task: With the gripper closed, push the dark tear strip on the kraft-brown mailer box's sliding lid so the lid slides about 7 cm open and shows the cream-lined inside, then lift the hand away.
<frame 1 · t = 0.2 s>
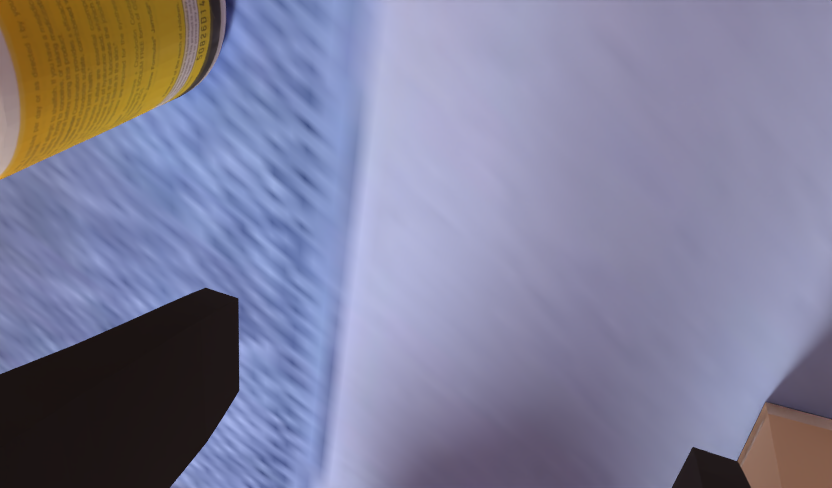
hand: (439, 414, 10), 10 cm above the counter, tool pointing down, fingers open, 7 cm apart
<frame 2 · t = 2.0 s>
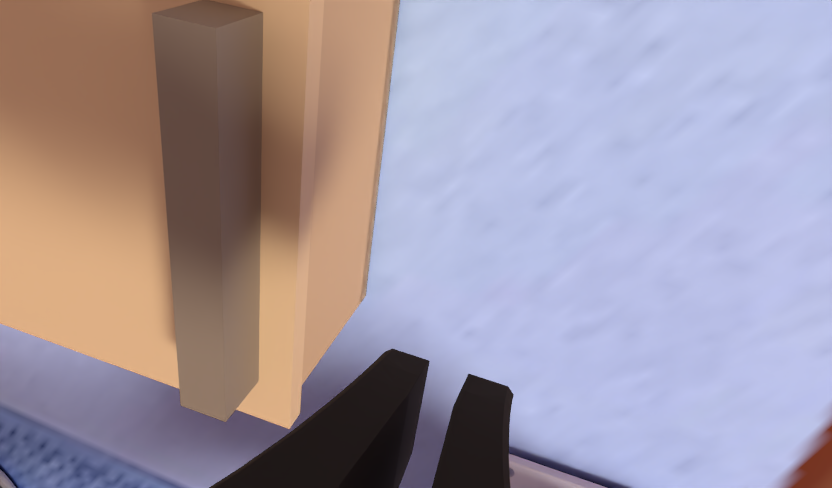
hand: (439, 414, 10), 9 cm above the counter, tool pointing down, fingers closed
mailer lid: (36, 171, 15), point 6 cm above the counter, slide at 0.0 cm
mailer box: (200, 94, 20), on the counter
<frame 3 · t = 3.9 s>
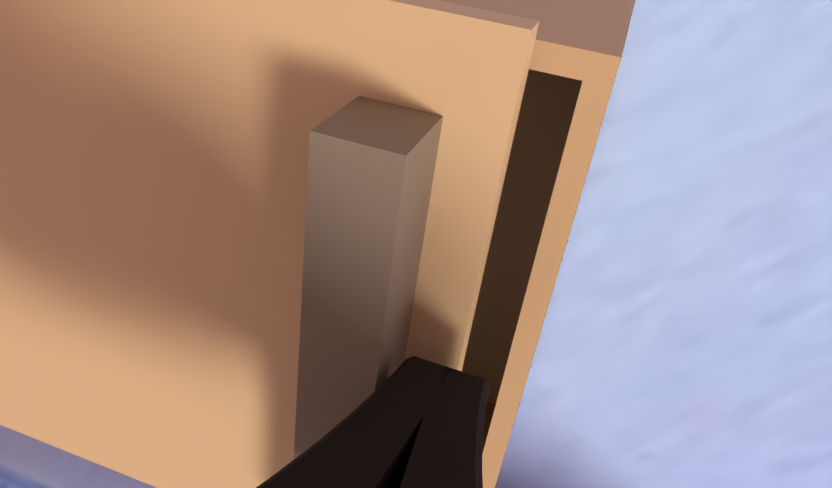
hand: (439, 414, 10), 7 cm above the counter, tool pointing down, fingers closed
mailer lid: (110, 292, 12), point 6 cm above the counter, slide at 1.4 cm, touching gripper
mailer box: (331, 177, 17), on the counter
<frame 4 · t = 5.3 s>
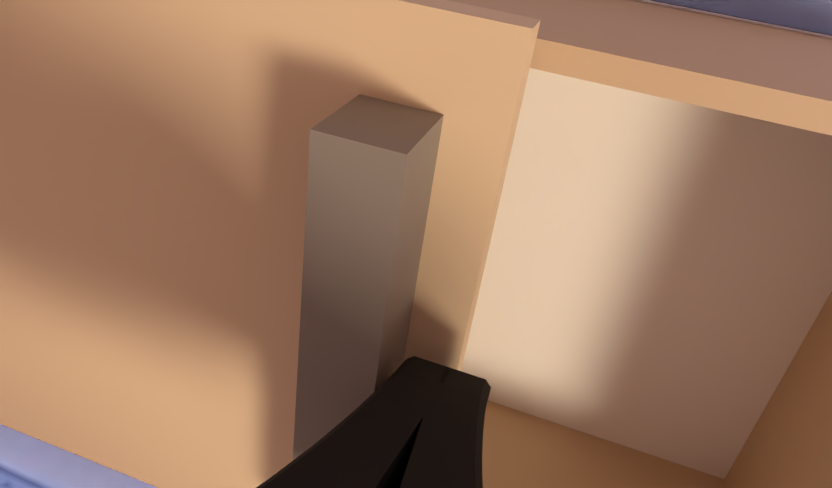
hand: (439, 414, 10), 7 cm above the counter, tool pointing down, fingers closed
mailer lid: (109, 290, 12), point 6 cm above the counter, slide at 7.2 cm, touching gripper
mailer box: (558, 238, 16), on the counter
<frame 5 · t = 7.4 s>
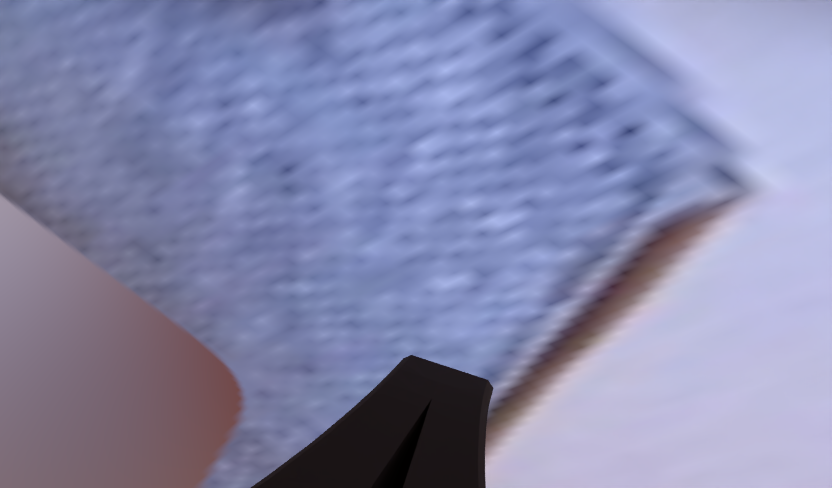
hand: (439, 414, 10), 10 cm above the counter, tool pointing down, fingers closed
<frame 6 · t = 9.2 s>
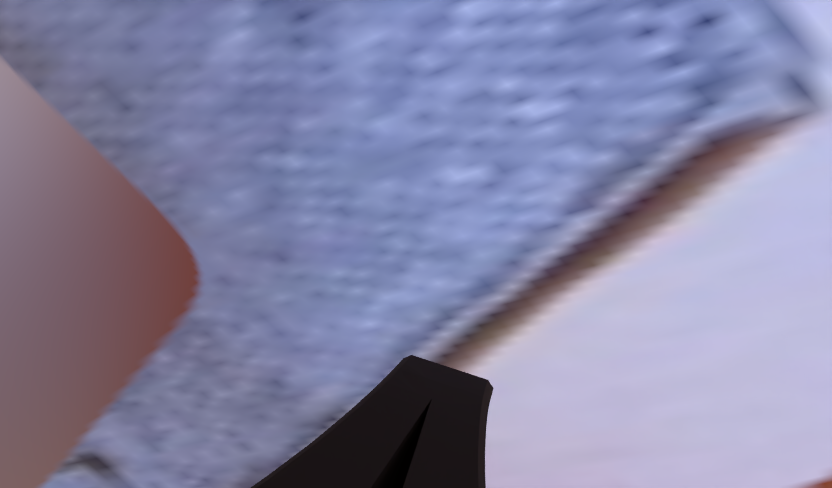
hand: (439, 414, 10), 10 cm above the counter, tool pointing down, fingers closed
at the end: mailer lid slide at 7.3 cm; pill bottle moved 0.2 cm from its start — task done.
